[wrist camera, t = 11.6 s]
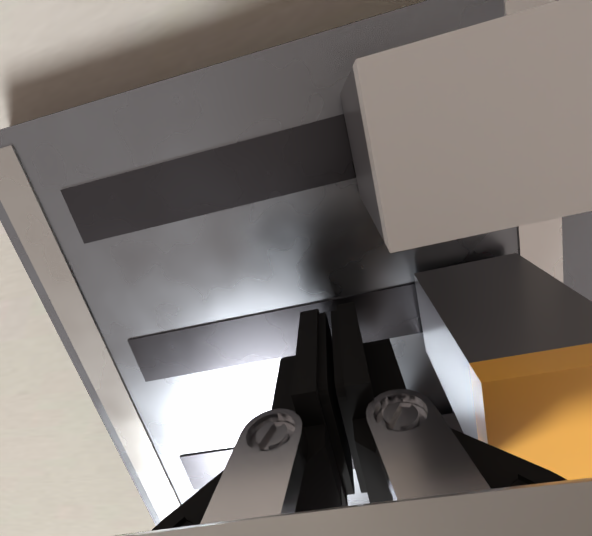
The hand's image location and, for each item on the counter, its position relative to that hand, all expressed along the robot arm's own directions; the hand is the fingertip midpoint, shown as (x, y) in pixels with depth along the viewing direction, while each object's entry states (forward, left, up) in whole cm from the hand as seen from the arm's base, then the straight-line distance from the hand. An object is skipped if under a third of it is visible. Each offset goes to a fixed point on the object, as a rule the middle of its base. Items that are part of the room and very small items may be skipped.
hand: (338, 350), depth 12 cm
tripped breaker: (-4, 0, -1) cm, 4 cm away
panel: (+1, +3, -4) cm, 5 cm away
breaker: (-3, -6, -1) cm, 6 cm away
